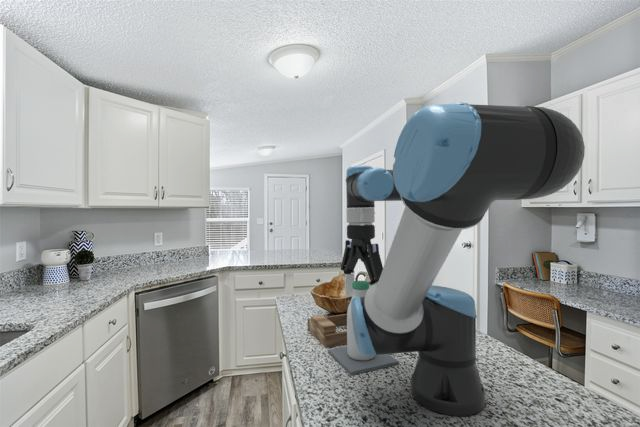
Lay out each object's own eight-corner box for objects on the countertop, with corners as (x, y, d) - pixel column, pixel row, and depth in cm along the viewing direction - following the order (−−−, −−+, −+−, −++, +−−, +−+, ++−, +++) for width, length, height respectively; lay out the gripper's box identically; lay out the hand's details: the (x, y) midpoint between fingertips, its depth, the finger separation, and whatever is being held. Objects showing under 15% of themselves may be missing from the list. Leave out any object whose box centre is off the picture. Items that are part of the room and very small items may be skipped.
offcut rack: (373, 339, 104) (373, 313, 104) (326, 347, 98) (326, 320, 98) (350, 322, 119) (349, 300, 119) (307, 329, 113) (307, 306, 113)
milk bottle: (375, 362, 87) (374, 285, 86) (345, 360, 88) (344, 284, 88) (376, 350, 94) (375, 279, 94) (348, 348, 96) (348, 278, 95)
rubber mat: (398, 364, 87) (398, 361, 87) (350, 375, 82) (350, 372, 82) (370, 344, 100) (370, 341, 100) (327, 352, 95) (327, 349, 95)
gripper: (400, 225, 80) (400, 313, 80) (351, 222, 103) (352, 290, 103) (373, 226, 77) (374, 317, 78) (329, 222, 100) (330, 293, 101)
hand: (361, 302), depth 91 cm, fingers open, 13 cm apart
